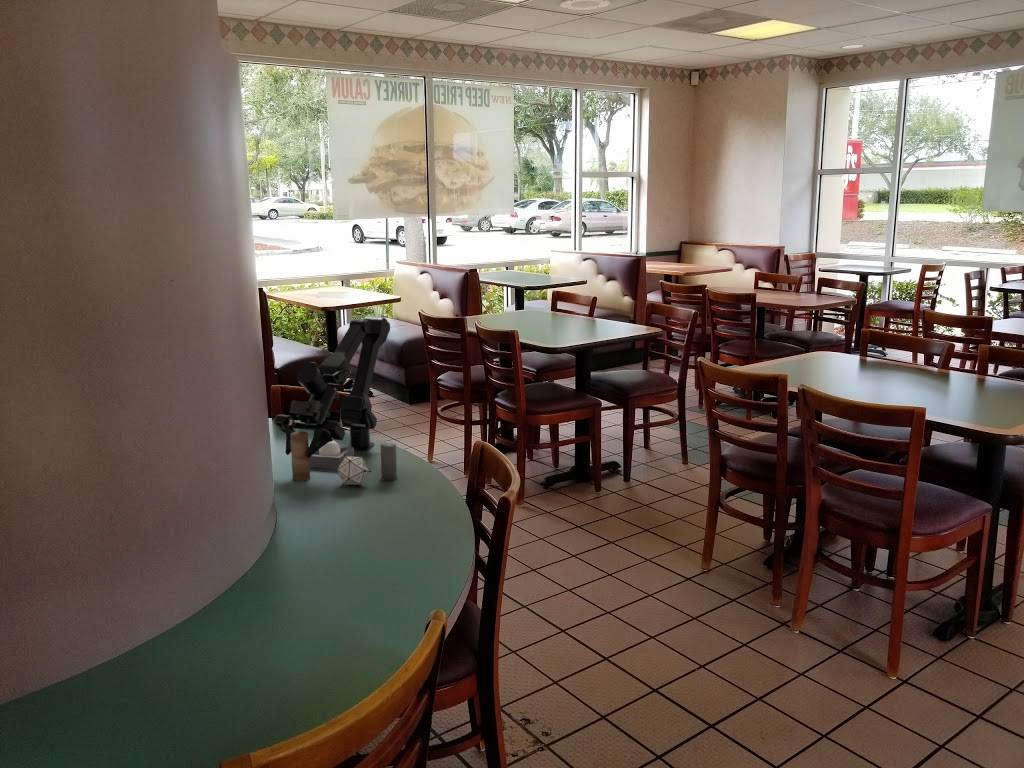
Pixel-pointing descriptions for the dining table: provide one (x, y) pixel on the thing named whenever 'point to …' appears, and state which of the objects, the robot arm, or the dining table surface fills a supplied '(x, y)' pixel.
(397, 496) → the dining table surface
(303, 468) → the walnut pawn
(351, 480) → the grey faceted polyhedron
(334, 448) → the dome
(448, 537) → the dining table surface
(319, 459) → the box
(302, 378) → the robot arm
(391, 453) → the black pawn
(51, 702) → the dining table surface
